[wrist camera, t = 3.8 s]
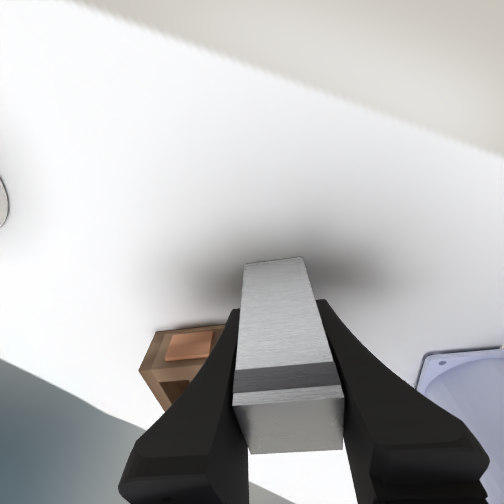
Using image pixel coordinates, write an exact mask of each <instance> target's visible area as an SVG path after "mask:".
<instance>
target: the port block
mask: <svg viewBox="0 0 504 504" xmlns="http://www.w3.org/2000/svg"><path fill="white" fill-rule="evenodd" d="M224 327H225V325H217V326H208V327H199V328H189V329H180V330H171V331H161V332H156V333H155V335H154V337H153V340H152V342H151V344H150V346H149V348H148V351H147V353H146V355H145V357H144V360H143V362H142V364H141V366H140V368H139V372H140V374H141V376H142V377H143V379H144V380H145V382H146V383H147V385H148V386H149V388H150V389H151V391H152V393H153V394H154V396H155V397H156V399H157V400H158V402H159V403H160V405H161V406H162V408H163V410H164V411H165V412H166V411H167V410H168V408H169V407H170V406H171V405H172V404H173V403H174V402H175V401H176V399H177V398H178V397H179V396H180V395H181V394H182V392H183V391H184V390H185V389H186V387H187V386H188V385H189V383H190V382H191V381H192V380H193V378H194V377H195V376H196V374H197V373H198V371H199V370H200V368H201V367H202V366H203V364H204V362H205V361H206V359H207V358H208V356H209V354H210V353H211V351H212V349H213V348H214V346H215V344H216V342H217V340H218V339H219V337H220V335H221V333H222V331H223V329H224Z"/></svg>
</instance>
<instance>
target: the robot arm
mask: <svg viewBox="0 0 504 504" xmlns="http://www.w3.org/2000/svg"><path fill="white" fill-rule="evenodd" d="M315 301H316V304H317V308H318V311H319V314H320V318H321V321H322V325H323V328H324V331H325V335H326V338H327V341H328V345H329V348H330V351H331V355H332V358H333V361H334V362H335V366H336V369H337V372H338V376H339V379H340V382H341V388H342V391H343V395H344V423H343V438H344V442H345V447H346V451H347V456H348V460H349V465H350V469H351V474H352V478H353V483H354V488H355V493H356V497H357V502H358V504H504V349H494V350H483V351H471V352H460V353H449V354H437V355H430V356H428V357H427V358H426V359H425V362H424V365H423V369H422V372H421V376H420V379H419V383H418V386H417V390H415V389H414V388H413V387H412V386H410V385H409V384H408V383H406V382H405V381H404V380H402V379H401V378H400V377H399V376H397V375H396V374H395V373H393V372H392V371H391V370H390V369H389V368H388V367H386V366H385V365H384V364H383V363H382V362H381V361H379V360H378V359H377V358H376V357H375V356H374V355H373V354H372V353H371V352H370V351H369V350H368V349H367V348H366V347H365V346H364V345H363V344H362V343H361V342H360V341H359V340H358V339H357V338H356V337H355V336H354V335H353V334H352V333H351V332H350V330H349V329H348V328H347V327H346V326H345V325H344V323H343V322H342V321H341V320H340V319H339V317H338V316H337V315H336V313H335V312H334V311H333V309H332V308H331V307H330V305H329V304H328V302H327V301H326V300H325V299H320V300H315ZM240 310H241V309H233V310H232V311H231V313H230V316H229V318H228V320H227V323H226V325H225V327H224V329H223V331H222V333H221V335H220V337H219V339H218V340H217V342H216V344H215V346H214V348H213V349H212V351H211V353H210V354H209V356H208V358H207V359H206V361H205V362H204V364H203V366H202V367H201V368H200V370H199V371H198V373H197V374H196V376H195V377H194V378H193V380H192V381H191V382H190V383H189V385H188V386H187V387H186V389H185V390H184V391H183V392H182V394H181V395H180V396H179V397H178V398H177V399H176V401H175V402H174V403H173V404H172V405H171V406H170V407H169V408H168V410H167V411H166V412H165V413H164V414H163V415H162V416H161V417H160V418H159V419H158V420H157V421H156V422H155V423H154V424H153V425H152V426H151V427H150V428H149V429H148V430H147V431H146V432H145V433H144V434H143V435H142V436H141V437H140V438H139V439H138V440H137V441H136V443H135V445H134V447H133V449H132V451H131V453H130V456H129V458H128V461H127V463H126V466H125V469H124V472H123V474H122V477H121V480H120V482H119V485H118V490H119V493H120V494H121V495H122V497H123V498H124V499H126V500H127V501H128V502H129V503H130V504H249V485H248V445H247V443H246V440H245V438H244V435H243V432H242V430H241V427H240V424H239V422H238V419H237V417H236V414H235V411H234V409H233V406H232V405H233V384H234V373H235V369H236V357H237V345H238V333H239V321H240Z"/></svg>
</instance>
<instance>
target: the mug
mask: <svg viewBox="0 0 504 504" xmlns="http://www.w3.org/2000/svg"><path fill="white" fill-rule="evenodd" d="M7 212H8V201H7V196H6V192H5V189H4V187H3V184H2V182H1V180H0V227H1V226H2V225H3V223H4V222H5V219H6V217H7Z"/></svg>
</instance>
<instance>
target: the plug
mask: <svg viewBox="0 0 504 504" xmlns="http://www.w3.org/2000/svg"><path fill="white" fill-rule="evenodd" d="M232 406H233V409H234V411H235V414H236V417H237V419H238V422H239V424H240V427H241V430H242V432H243V435H244V438H245V440H246V443H247V445H248V448H249V451H250V453H251V454H268V453H287V452H306V451H325V450H343V423H344V395H343V391H342V388H341V382H340V379H339V376H338V372H337V369H336V366H335V362H334V361H333V358H332V355H331V351H330V348H329V345H328V341H327V338H326V335H325V331H324V328H323V325H322V321H321V318H320V314H319V311H318V308H317V304H316V301H315V298H314V294H313V291H312V288H311V284H310V281H309V278H308V274H307V271H306V268H305V264H304V261H303V258H302V257H296V258H289V259H281V260H274V261H266V262H258V263H251V264H244V274H243V286H242V298H241V310H240V321H239V333H238V345H237V357H236V369H235V373H234V384H233V405H232Z"/></svg>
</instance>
